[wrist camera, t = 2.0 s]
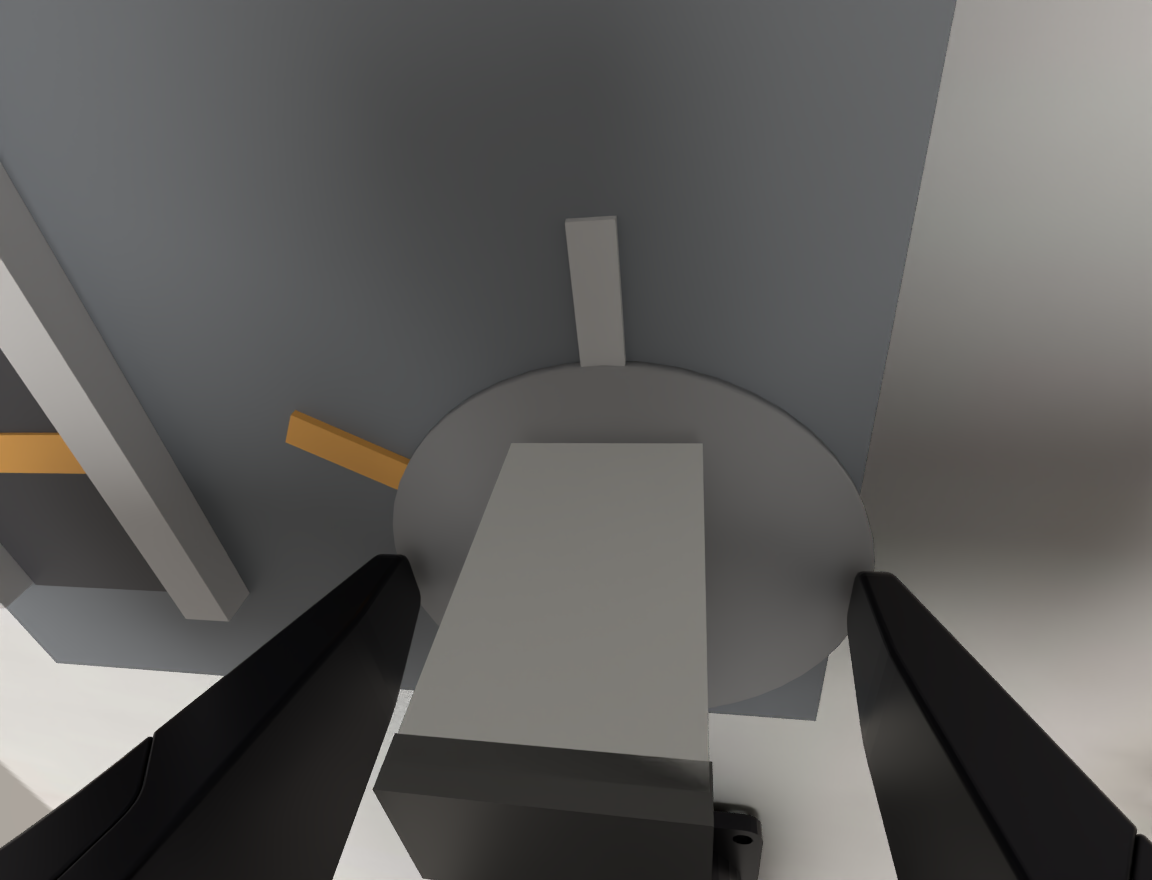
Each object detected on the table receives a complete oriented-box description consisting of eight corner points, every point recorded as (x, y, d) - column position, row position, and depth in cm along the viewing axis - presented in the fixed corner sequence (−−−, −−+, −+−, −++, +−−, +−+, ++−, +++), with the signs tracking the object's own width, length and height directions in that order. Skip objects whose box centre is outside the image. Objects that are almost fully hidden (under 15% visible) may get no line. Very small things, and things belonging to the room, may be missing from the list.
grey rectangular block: (700, 693, 10) (705, 1050, 7) (561, 683, 11) (499, 1016, 7) (704, 432, 7) (713, 825, 4) (514, 432, 8) (373, 789, 4)
